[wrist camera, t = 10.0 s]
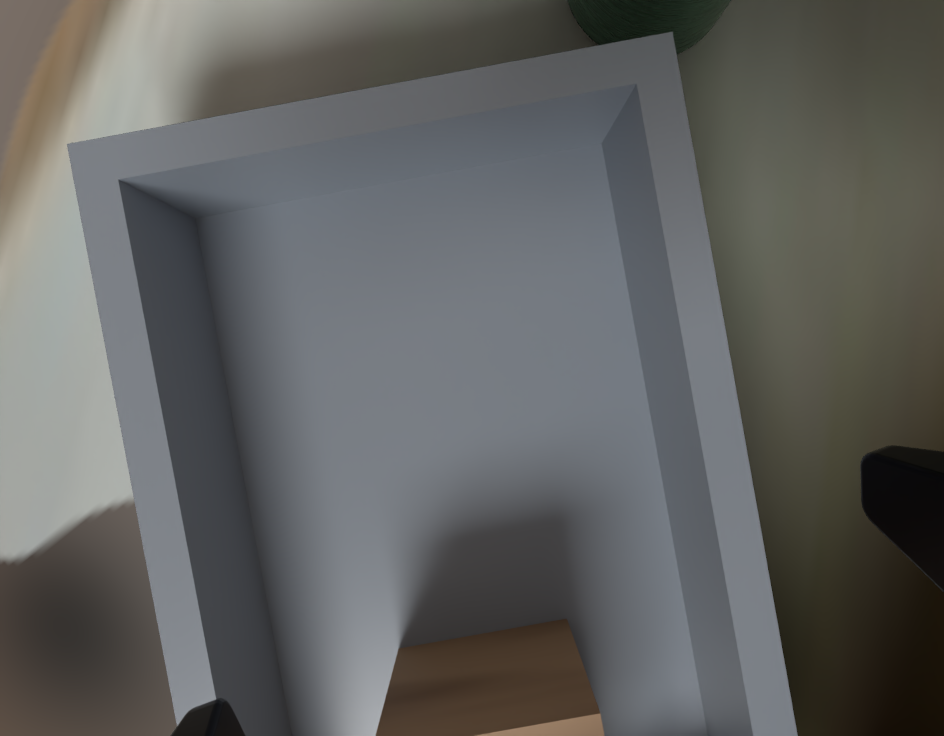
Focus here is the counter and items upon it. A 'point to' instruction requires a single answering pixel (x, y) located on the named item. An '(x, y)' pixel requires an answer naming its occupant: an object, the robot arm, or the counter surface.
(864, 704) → the counter surface
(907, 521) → the robot arm
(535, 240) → the grey tote
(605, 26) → the green tall cylinder
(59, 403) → the counter surface
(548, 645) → the walnut block
